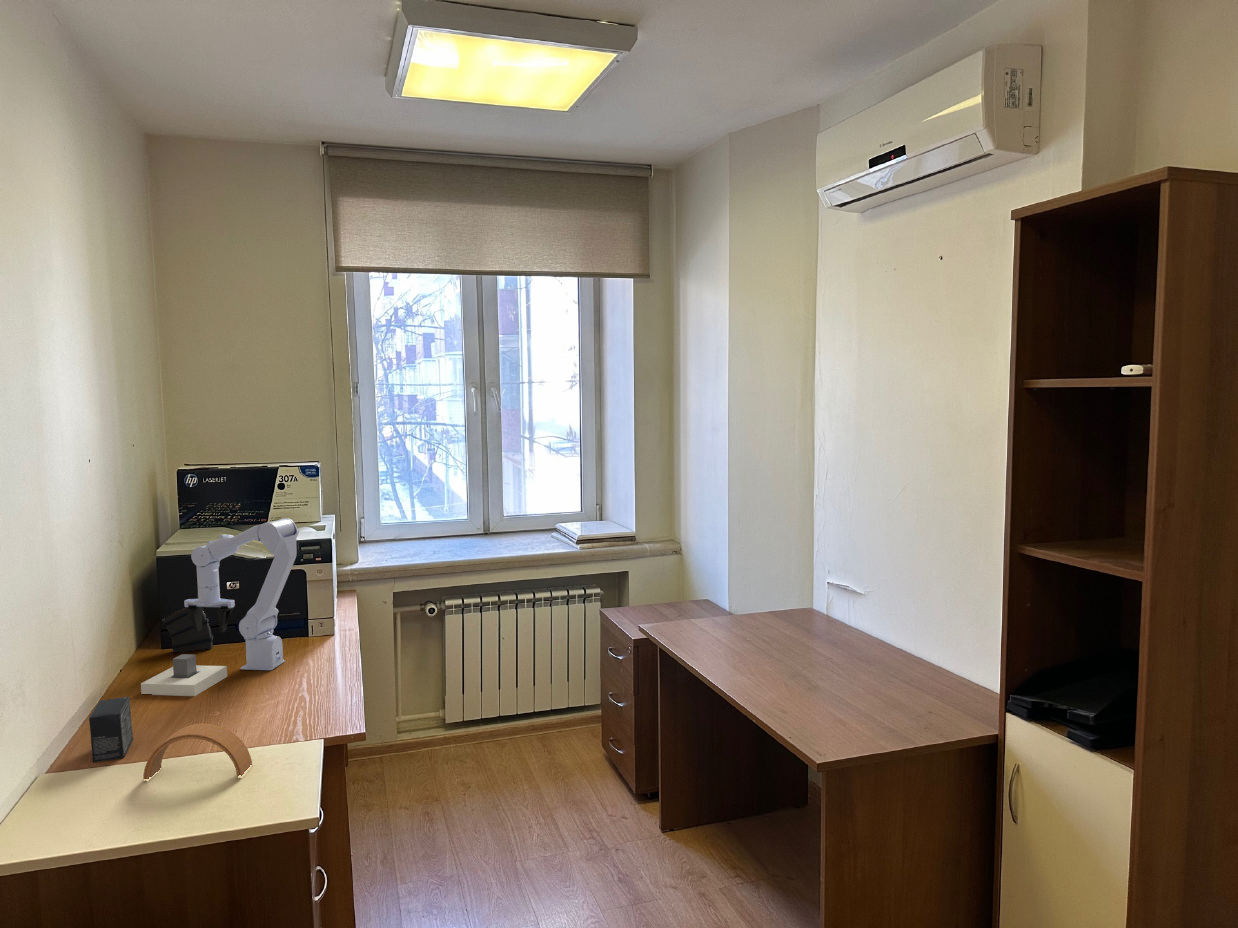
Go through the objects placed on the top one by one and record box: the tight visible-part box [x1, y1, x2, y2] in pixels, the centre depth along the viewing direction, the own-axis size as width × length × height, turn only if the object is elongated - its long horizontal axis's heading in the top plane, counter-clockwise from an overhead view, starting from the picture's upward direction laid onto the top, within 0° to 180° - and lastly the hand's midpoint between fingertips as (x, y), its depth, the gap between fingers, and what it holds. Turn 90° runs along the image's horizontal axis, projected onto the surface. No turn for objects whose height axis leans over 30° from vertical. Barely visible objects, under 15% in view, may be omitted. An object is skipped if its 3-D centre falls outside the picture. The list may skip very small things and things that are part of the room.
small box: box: [88, 696, 134, 763], centre depth 187 cm, size 11×6×10 cm, turn 21°
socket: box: [140, 664, 228, 697], centre depth 229 cm, size 15×15×3 cm
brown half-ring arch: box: [142, 723, 253, 780], centre depth 175 cm, size 6×20×10 cm, turn 92°
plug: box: [172, 653, 197, 678], centre depth 228 cm, size 4×4×8 cm
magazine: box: [161, 606, 214, 654], centre depth 259 cm, size 4×13×15 cm, turn 109°
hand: (211, 630), depth 247 cm, fingers open, 7 cm apart
